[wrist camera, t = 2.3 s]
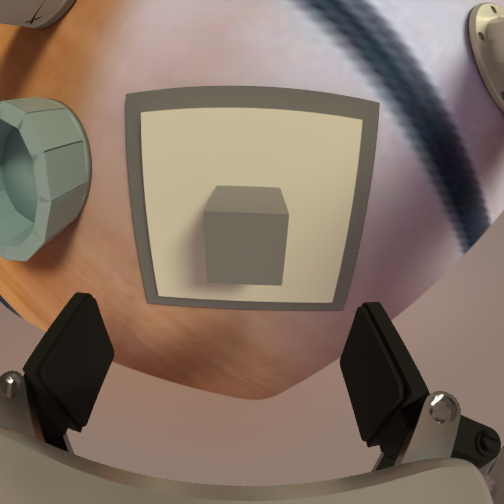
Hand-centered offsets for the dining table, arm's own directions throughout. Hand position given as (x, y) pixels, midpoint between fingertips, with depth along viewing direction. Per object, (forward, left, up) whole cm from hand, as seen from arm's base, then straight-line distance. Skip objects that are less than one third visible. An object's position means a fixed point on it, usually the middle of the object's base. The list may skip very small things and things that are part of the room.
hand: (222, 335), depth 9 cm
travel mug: (+16, -20, -12) cm, 29 cm away
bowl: (+17, -4, -12) cm, 21 cm away
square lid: (-1, 0, -11) cm, 11 cm away
